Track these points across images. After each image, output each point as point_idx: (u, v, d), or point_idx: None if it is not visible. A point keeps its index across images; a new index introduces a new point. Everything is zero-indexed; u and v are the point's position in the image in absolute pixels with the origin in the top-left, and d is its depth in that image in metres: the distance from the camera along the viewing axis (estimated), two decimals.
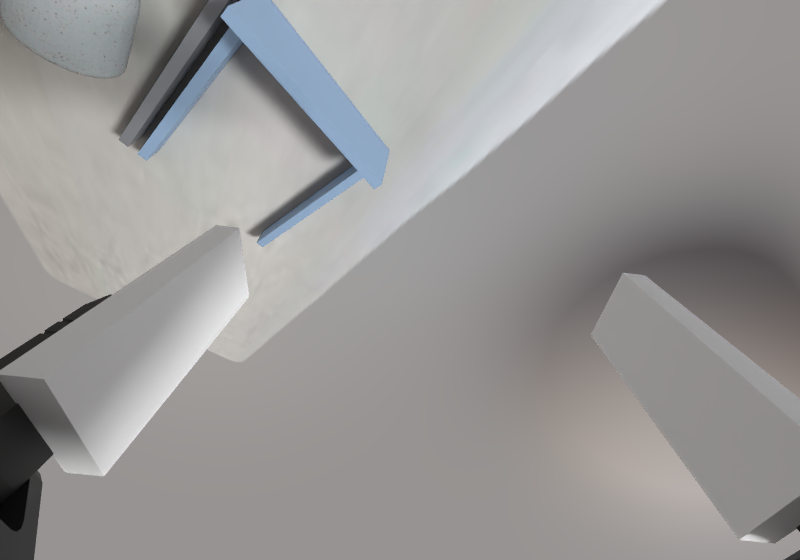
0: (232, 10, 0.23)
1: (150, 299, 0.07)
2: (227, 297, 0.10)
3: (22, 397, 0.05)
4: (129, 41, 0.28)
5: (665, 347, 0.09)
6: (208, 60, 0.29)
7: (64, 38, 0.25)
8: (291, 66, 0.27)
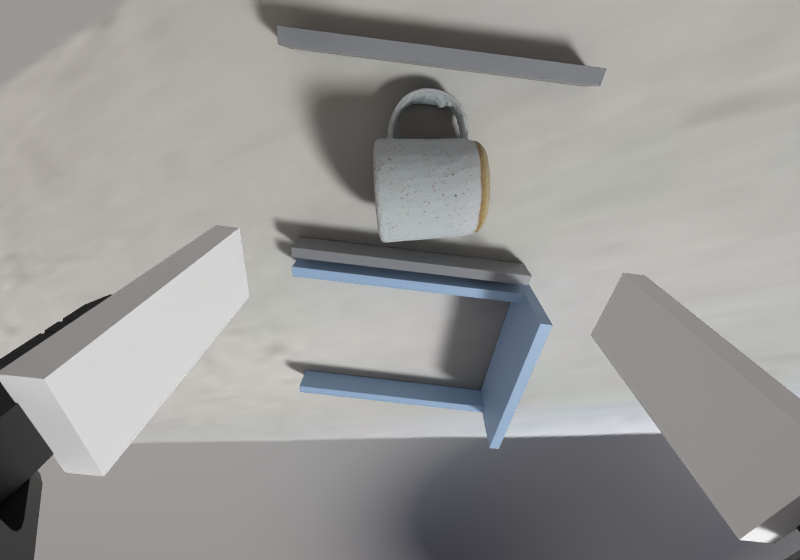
0: (550, 327, 0.27)
1: (150, 299, 0.07)
2: (227, 297, 0.10)
3: (22, 397, 0.05)
4: None
5: (665, 347, 0.09)
6: (458, 288, 0.31)
7: (415, 225, 0.23)
8: None
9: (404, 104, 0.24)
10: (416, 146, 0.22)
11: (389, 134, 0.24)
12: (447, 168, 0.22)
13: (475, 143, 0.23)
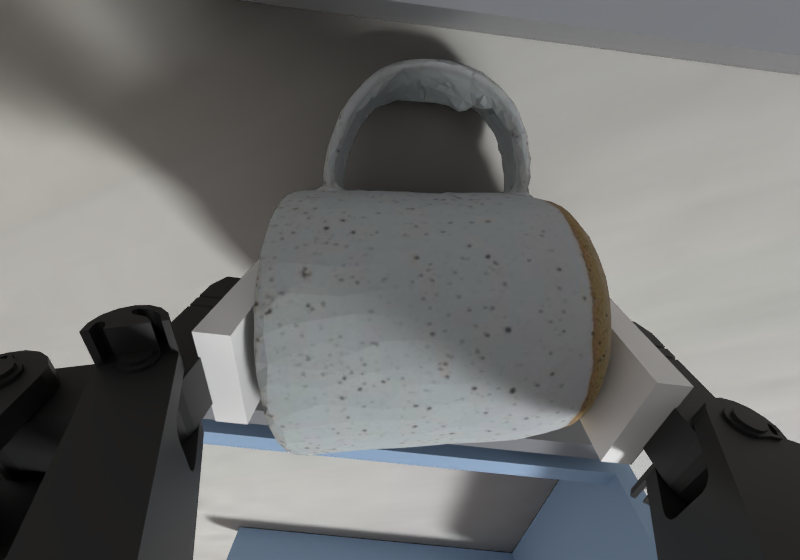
0: None
1: None
2: None
3: (206, 352, 0.07)
4: None
5: None
6: (491, 463, 0.16)
7: (389, 445, 0.08)
8: None
9: (367, 101, 0.09)
10: (393, 227, 0.07)
11: (326, 179, 0.09)
12: (491, 310, 0.07)
13: (562, 216, 0.08)
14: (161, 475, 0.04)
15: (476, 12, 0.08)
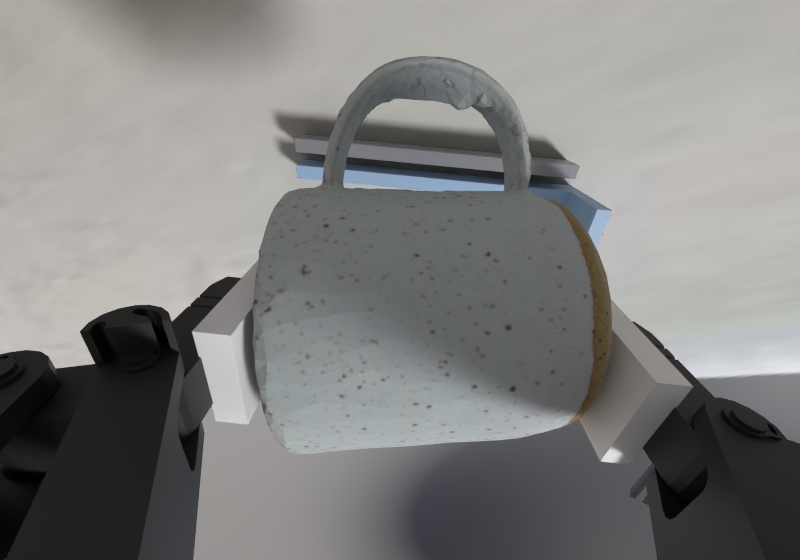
0: (608, 214, 0.22)
1: None
2: None
3: (206, 352, 0.07)
4: None
5: None
6: (492, 186, 0.26)
7: (389, 444, 0.08)
8: None
9: (367, 99, 0.09)
10: (393, 225, 0.07)
11: (326, 177, 0.09)
12: (491, 308, 0.07)
13: (563, 214, 0.08)
14: (161, 475, 0.04)
15: None
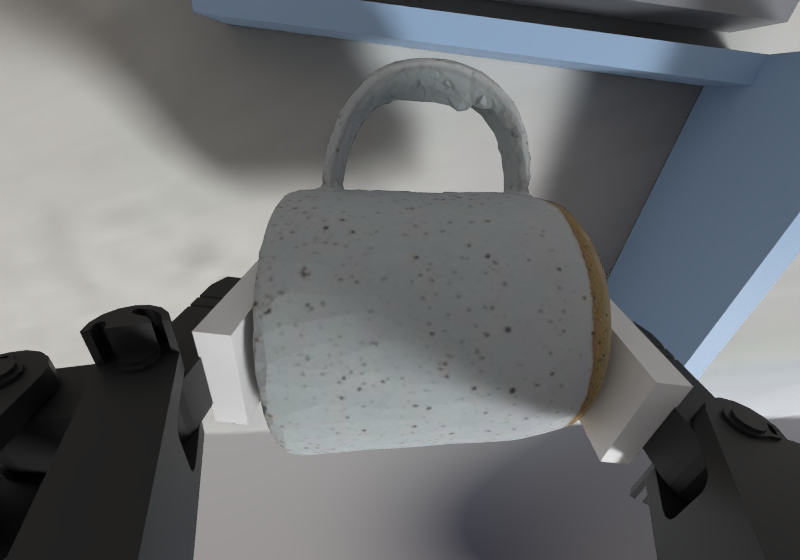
0: None
1: None
2: None
3: (206, 352, 0.07)
4: None
5: None
6: (606, 39, 0.12)
7: (389, 445, 0.08)
8: None
9: (367, 100, 0.09)
10: (392, 227, 0.07)
11: (326, 178, 0.09)
12: (491, 310, 0.07)
13: (562, 216, 0.08)
14: (161, 475, 0.04)
15: None
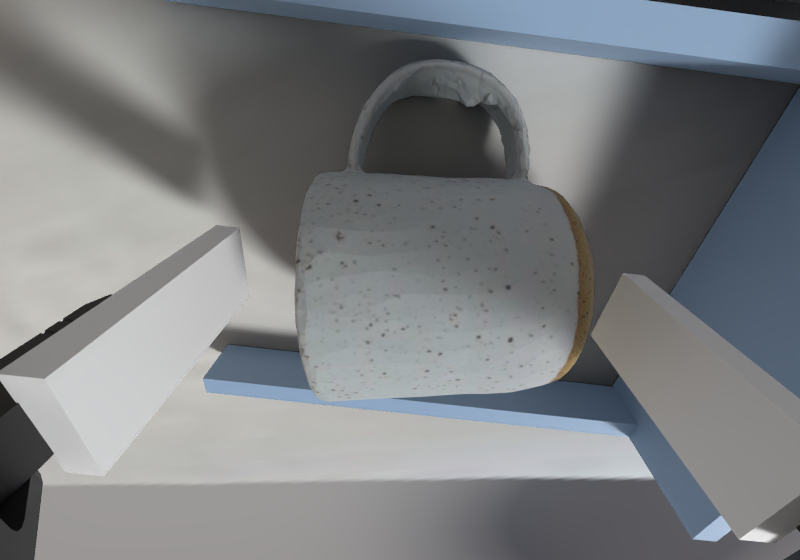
0: None
1: (150, 299, 0.07)
2: (227, 297, 0.10)
3: (22, 397, 0.05)
4: None
5: (665, 346, 0.09)
6: (691, 15, 0.09)
7: (403, 391, 0.09)
8: None
9: (388, 95, 0.11)
10: (412, 202, 0.09)
11: (351, 162, 0.10)
12: (494, 271, 0.08)
13: (556, 198, 0.09)
14: None
15: None
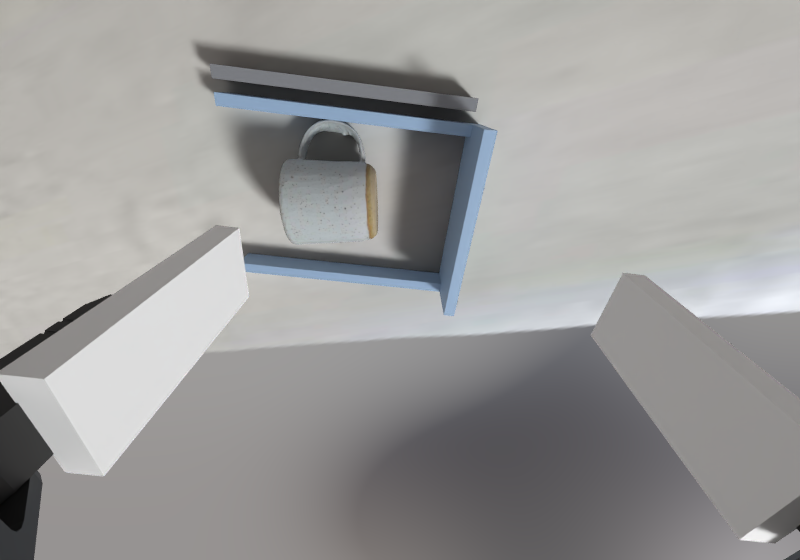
0: (495, 135, 0.25)
1: (150, 299, 0.07)
2: (227, 297, 0.10)
3: (22, 397, 0.05)
4: None
5: (665, 347, 0.09)
6: (401, 118, 0.28)
7: (316, 231, 0.28)
8: None
9: (312, 131, 0.29)
10: (316, 167, 0.28)
11: (299, 155, 0.29)
12: (338, 186, 0.27)
13: (365, 167, 0.28)
14: None
15: None
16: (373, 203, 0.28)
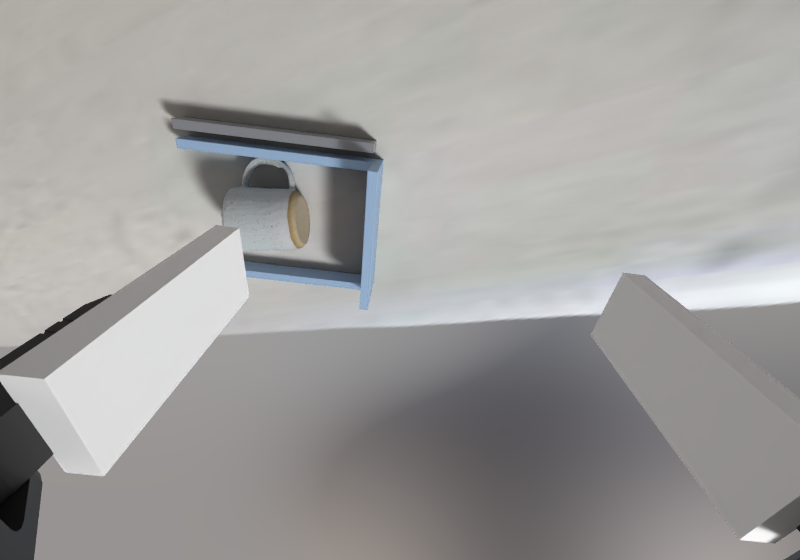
0: (377, 175, 0.33)
1: (150, 299, 0.07)
2: (227, 297, 0.10)
3: (22, 397, 0.05)
4: None
5: (665, 347, 0.09)
6: (317, 157, 0.37)
7: (252, 243, 0.37)
8: (375, 215, 0.37)
9: (252, 165, 0.38)
10: (251, 194, 0.36)
11: (241, 184, 0.38)
12: (266, 210, 0.36)
13: (290, 194, 0.37)
14: None
15: None
16: (294, 222, 0.36)
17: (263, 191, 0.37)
